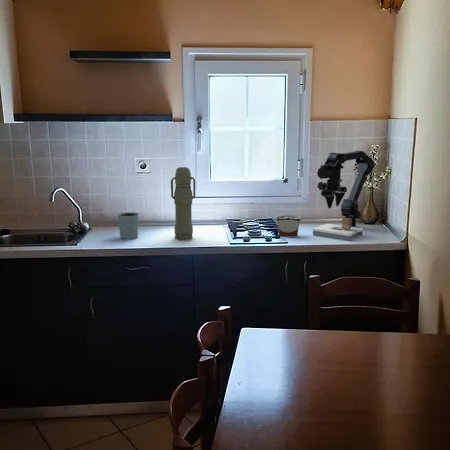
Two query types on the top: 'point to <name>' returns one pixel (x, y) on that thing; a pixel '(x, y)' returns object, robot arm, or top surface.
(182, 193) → the thermos
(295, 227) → the food container
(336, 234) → the keyhole plate
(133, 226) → the green plant pot
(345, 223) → the T-peg
